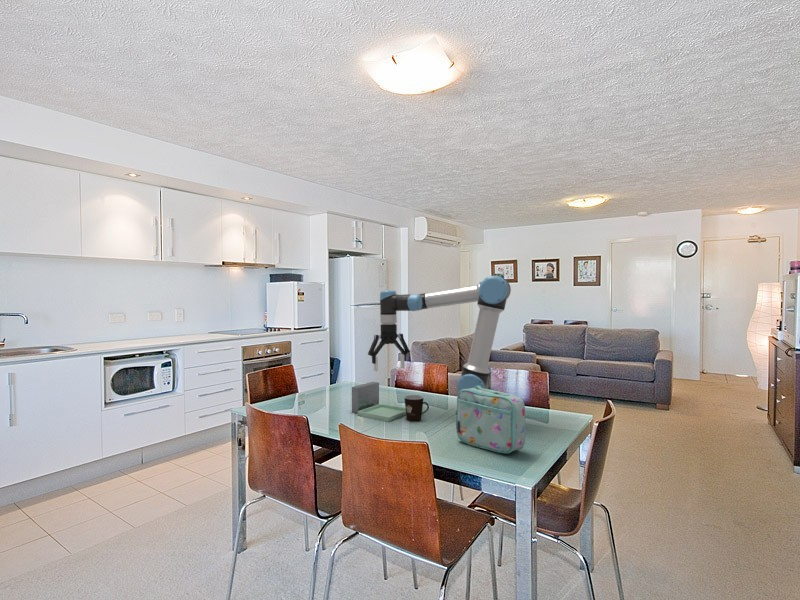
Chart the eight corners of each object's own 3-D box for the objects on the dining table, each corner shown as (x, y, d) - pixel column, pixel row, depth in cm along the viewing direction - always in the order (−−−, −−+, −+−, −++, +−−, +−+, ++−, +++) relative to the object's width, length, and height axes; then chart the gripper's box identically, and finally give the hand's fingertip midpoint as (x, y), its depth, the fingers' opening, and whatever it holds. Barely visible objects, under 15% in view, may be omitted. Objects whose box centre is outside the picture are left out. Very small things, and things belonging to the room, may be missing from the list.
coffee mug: (401, 418, 199) (401, 396, 199) (418, 416, 203) (418, 394, 203) (412, 425, 189) (412, 401, 189) (430, 422, 192) (430, 399, 192)
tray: (411, 413, 208) (411, 409, 208) (388, 422, 193) (388, 417, 193) (381, 407, 218) (381, 403, 218) (357, 415, 203) (357, 411, 203)
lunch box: (450, 441, 168) (450, 384, 168) (466, 435, 176) (467, 381, 175) (512, 459, 149) (512, 396, 149) (527, 452, 157) (528, 391, 156)
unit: (379, 406, 220) (379, 382, 220) (358, 413, 207) (358, 388, 207) (372, 405, 223) (372, 381, 222) (351, 412, 209) (351, 386, 209)
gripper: (408, 322, 214) (409, 366, 214) (360, 324, 203) (361, 370, 203) (416, 323, 207) (416, 368, 207) (366, 325, 196) (367, 373, 196)
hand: (389, 369), depth 205 cm, fingers open, 13 cm apart
